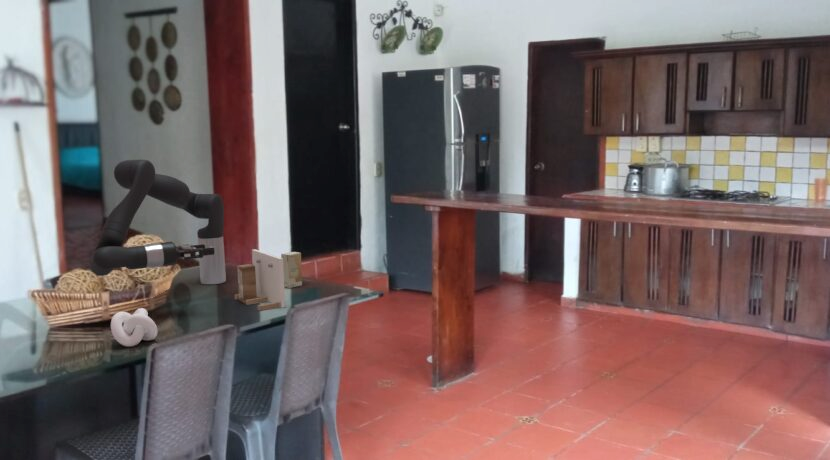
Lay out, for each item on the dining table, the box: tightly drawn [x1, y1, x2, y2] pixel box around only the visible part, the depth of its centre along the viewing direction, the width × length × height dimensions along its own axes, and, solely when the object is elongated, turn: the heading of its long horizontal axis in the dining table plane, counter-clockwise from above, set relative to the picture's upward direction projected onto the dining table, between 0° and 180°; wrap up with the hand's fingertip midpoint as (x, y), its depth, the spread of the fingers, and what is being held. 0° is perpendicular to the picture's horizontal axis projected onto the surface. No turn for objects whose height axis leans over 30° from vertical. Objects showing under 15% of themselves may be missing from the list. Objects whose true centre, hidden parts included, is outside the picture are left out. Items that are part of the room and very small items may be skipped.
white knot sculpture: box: [110, 307, 159, 348], centre depth 215 cm, size 11×12×9 cm
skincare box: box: [280, 251, 303, 289], centre depth 279 cm, size 6×4×12 cm
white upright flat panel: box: [234, 248, 286, 312], centre depth 255 cm, size 22×9×16 cm, turn 35°
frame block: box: [236, 263, 258, 304], centre depth 258 cm, size 4×5×12 cm
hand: (209, 249), depth 249 cm, fingers open, 8 cm apart
